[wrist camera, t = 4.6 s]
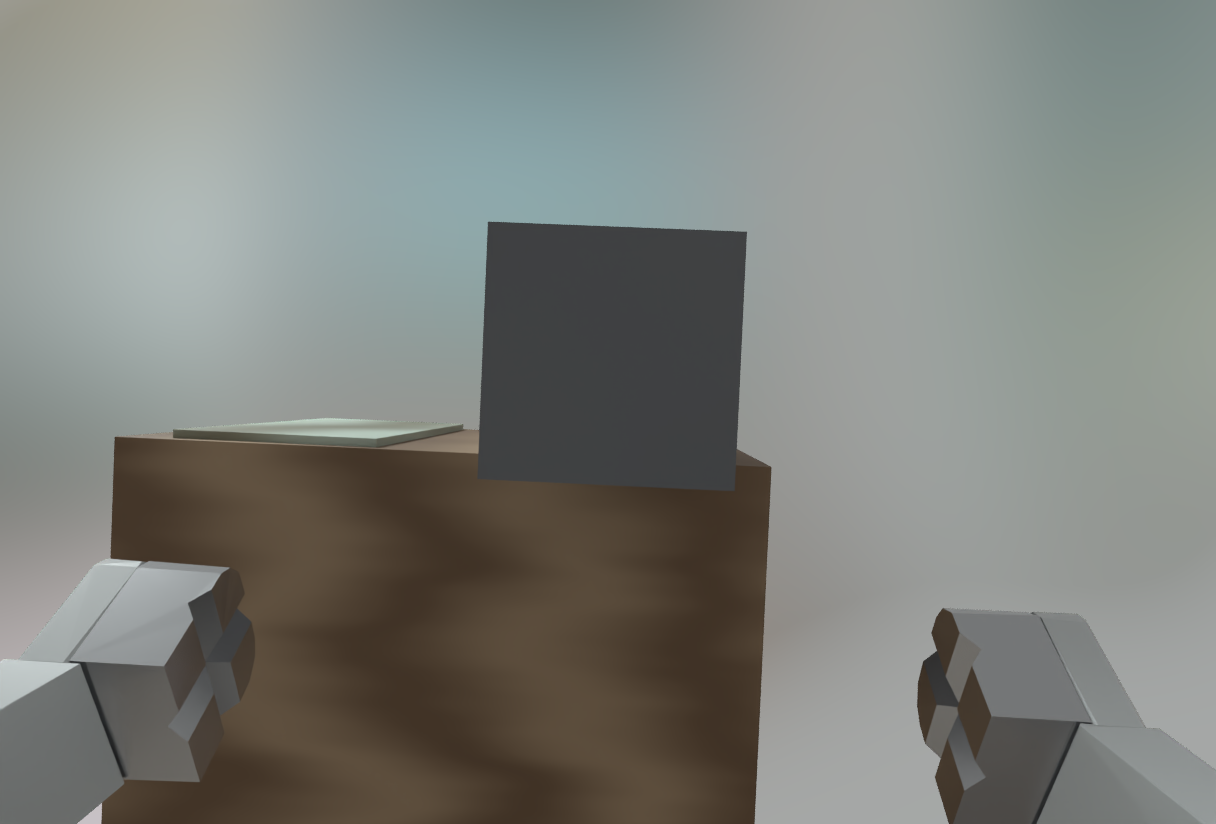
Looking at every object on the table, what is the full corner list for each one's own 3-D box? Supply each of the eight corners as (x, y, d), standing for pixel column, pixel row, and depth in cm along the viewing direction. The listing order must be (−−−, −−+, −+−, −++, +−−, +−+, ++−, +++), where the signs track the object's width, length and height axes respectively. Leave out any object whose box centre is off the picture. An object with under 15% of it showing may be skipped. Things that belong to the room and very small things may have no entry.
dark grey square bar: (441, 477, 13) (455, 148, 13) (553, 429, 31) (559, 292, 31) (770, 492, 13) (786, 160, 13) (690, 436, 31) (697, 297, 31)
